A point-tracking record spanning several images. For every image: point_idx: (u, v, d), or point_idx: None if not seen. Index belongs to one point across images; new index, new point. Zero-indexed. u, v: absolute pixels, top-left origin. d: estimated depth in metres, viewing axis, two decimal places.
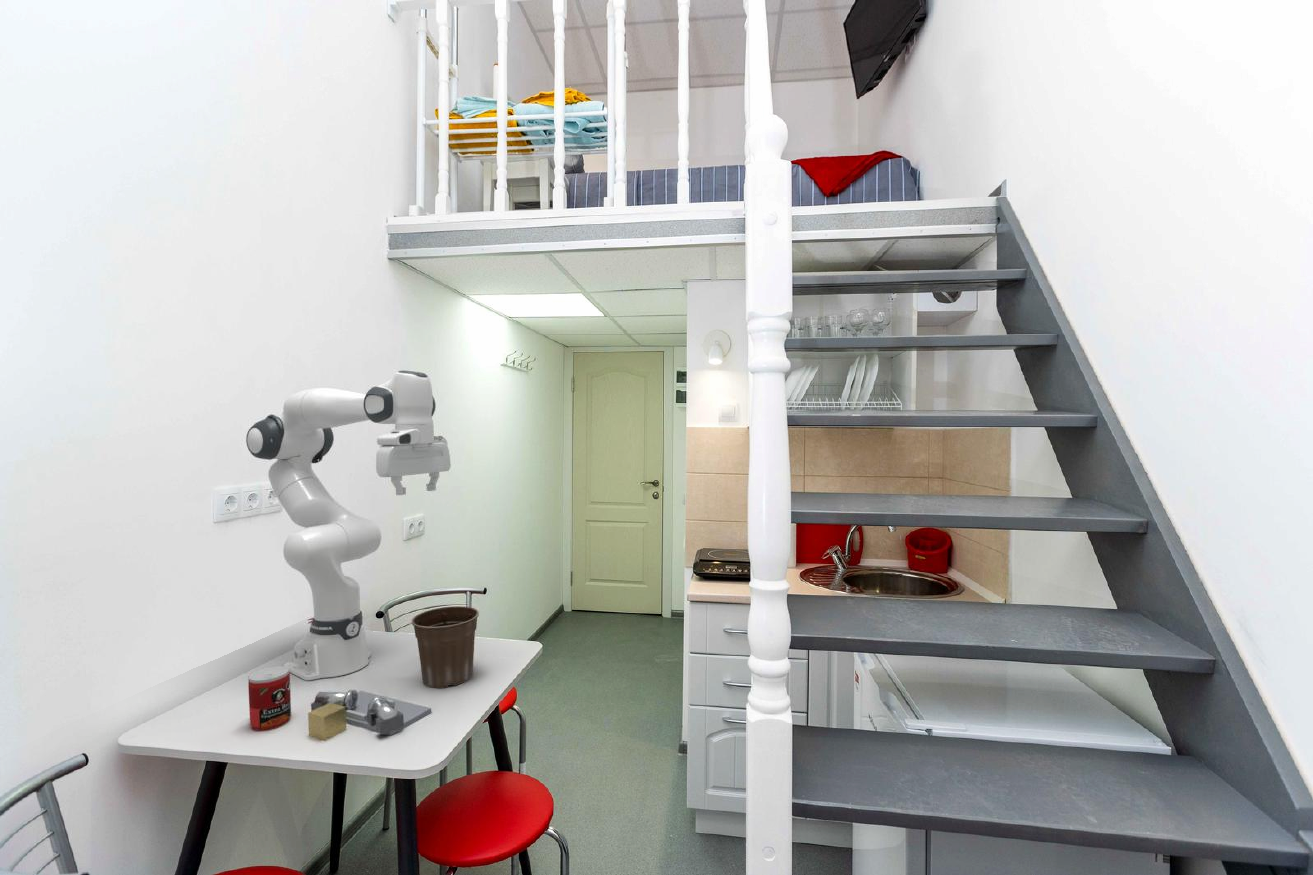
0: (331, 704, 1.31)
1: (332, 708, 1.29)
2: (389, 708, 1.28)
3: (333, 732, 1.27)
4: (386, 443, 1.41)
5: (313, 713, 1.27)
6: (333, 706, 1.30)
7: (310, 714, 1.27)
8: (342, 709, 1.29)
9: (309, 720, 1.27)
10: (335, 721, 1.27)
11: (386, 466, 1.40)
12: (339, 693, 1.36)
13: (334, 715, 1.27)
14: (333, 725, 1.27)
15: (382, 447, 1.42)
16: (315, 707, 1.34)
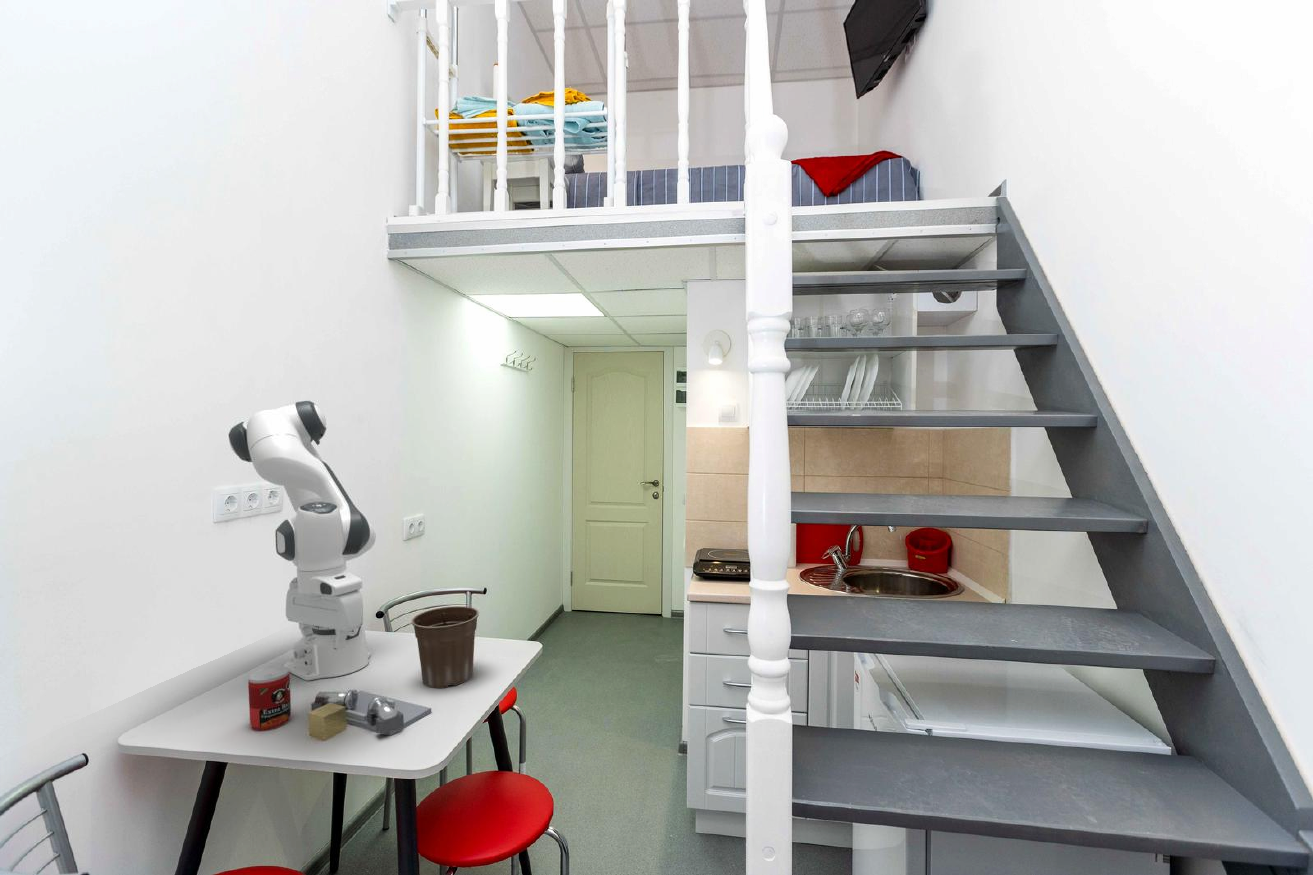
0: (331, 704, 1.31)
1: (332, 708, 1.29)
2: (389, 708, 1.28)
3: (333, 732, 1.27)
4: (351, 590, 1.24)
5: (313, 713, 1.27)
6: (333, 706, 1.30)
7: (310, 714, 1.27)
8: (342, 709, 1.29)
9: (309, 720, 1.27)
10: (335, 721, 1.27)
11: (362, 614, 1.25)
12: (339, 693, 1.36)
13: (334, 715, 1.27)
14: (333, 725, 1.27)
15: (345, 596, 1.23)
16: (315, 707, 1.34)
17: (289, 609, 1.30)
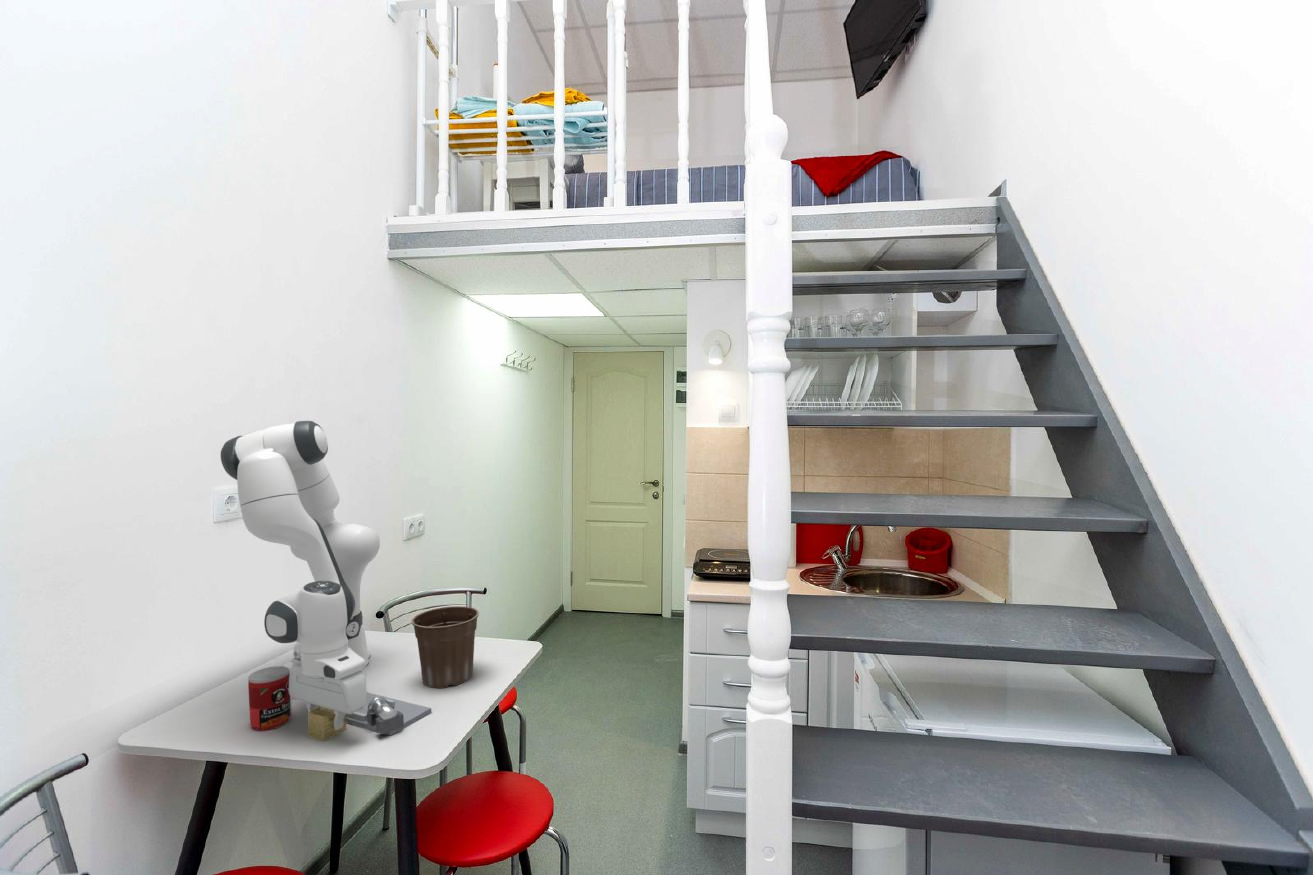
0: None
1: None
2: (389, 708, 1.28)
3: (333, 731, 1.27)
4: (354, 672, 1.25)
5: (313, 712, 1.27)
6: None
7: (310, 713, 1.27)
8: None
9: (309, 719, 1.27)
10: None
11: (365, 695, 1.25)
12: None
13: (334, 714, 1.27)
14: None
15: (349, 679, 1.23)
16: None
17: (292, 687, 1.30)
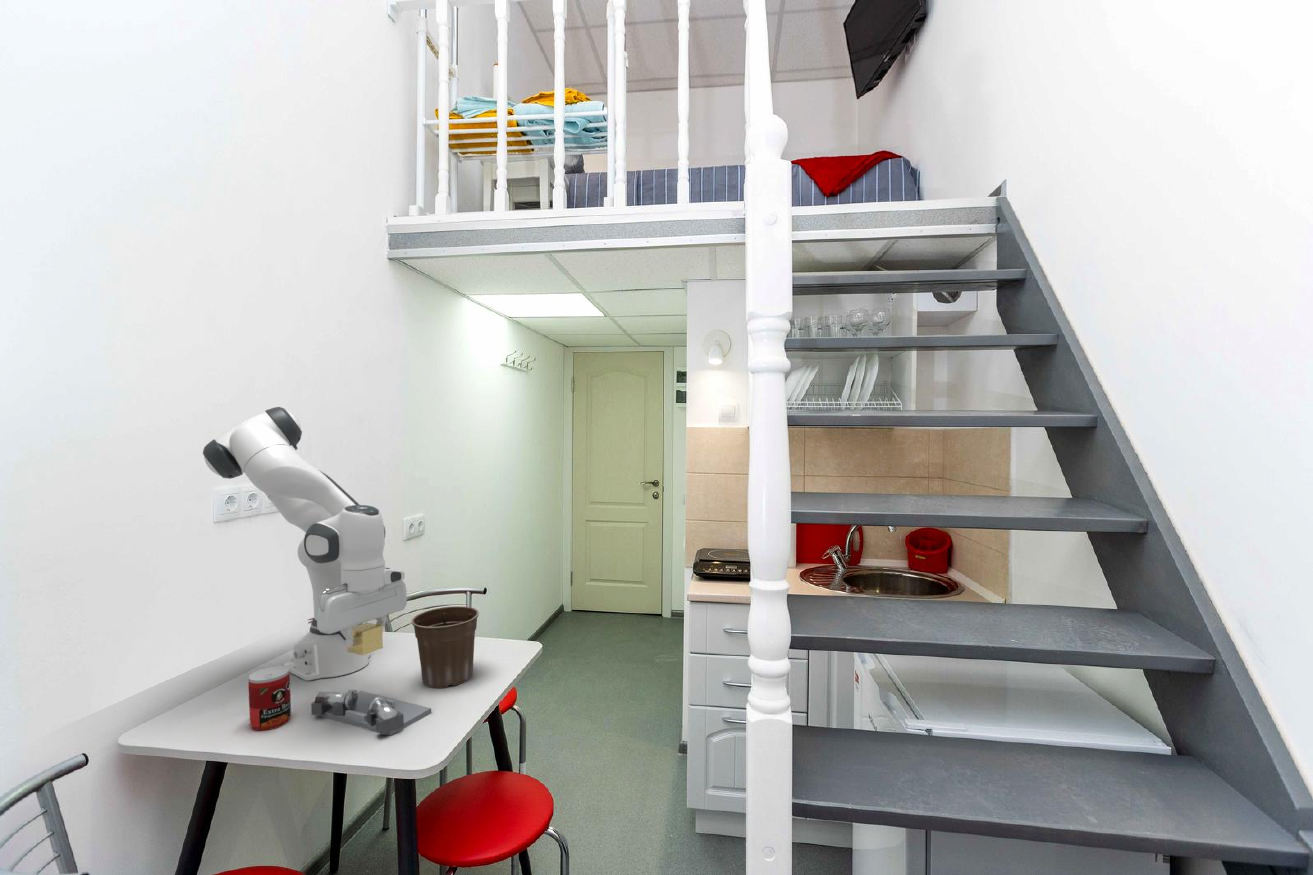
0: (353, 627, 1.35)
1: (363, 626, 1.36)
2: (389, 708, 1.28)
3: None
4: None
5: (366, 630, 1.33)
6: (358, 626, 1.35)
7: (365, 632, 1.32)
8: None
9: (364, 638, 1.32)
10: None
11: None
12: (339, 693, 1.36)
13: None
14: None
15: None
16: (315, 707, 1.34)
17: (333, 620, 1.26)
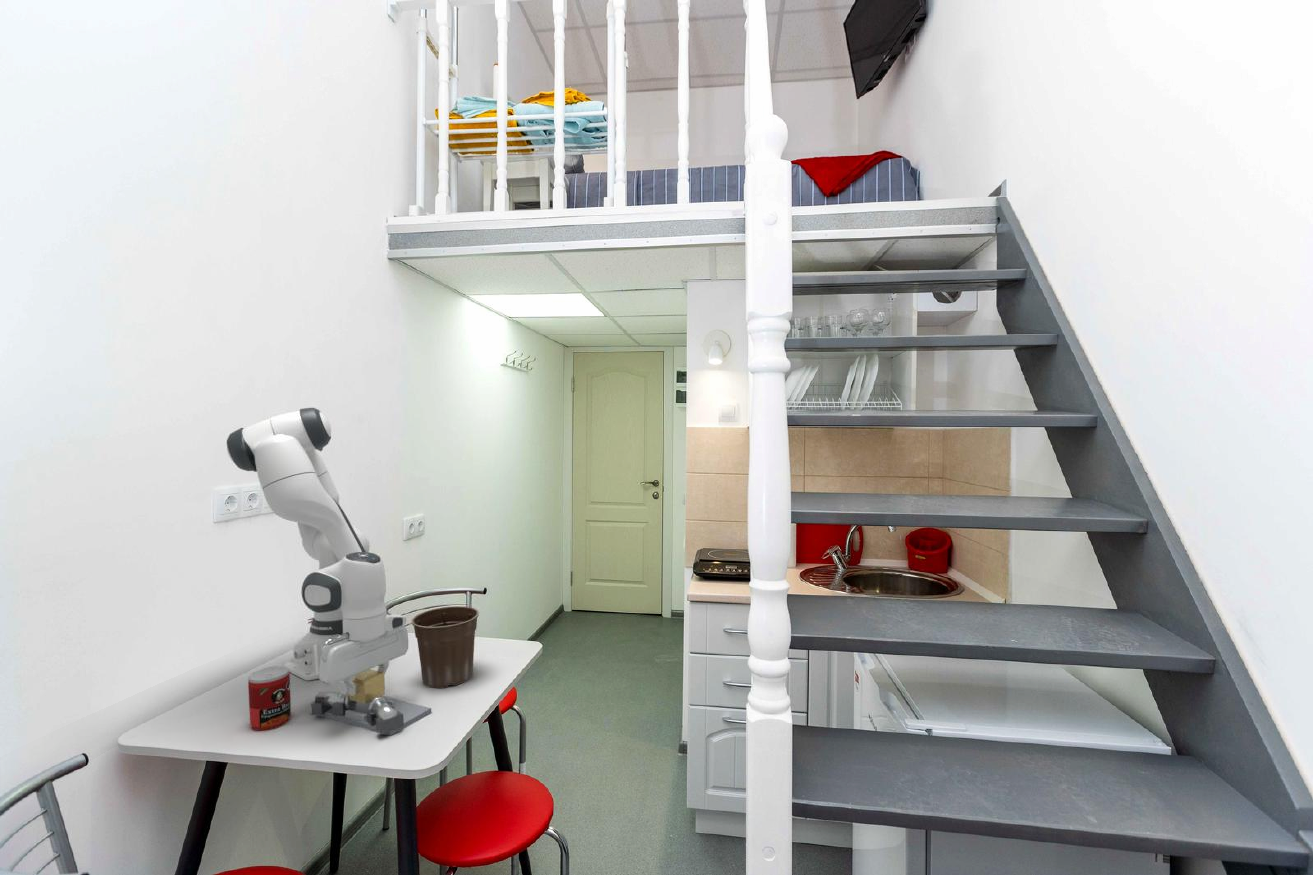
0: (355, 675, 1.35)
1: (365, 673, 1.36)
2: (389, 708, 1.28)
3: None
4: None
5: (369, 678, 1.33)
6: (360, 673, 1.36)
7: (367, 680, 1.32)
8: None
9: (366, 687, 1.32)
10: None
11: None
12: (339, 693, 1.36)
13: None
14: None
15: None
16: (315, 707, 1.34)
17: (336, 670, 1.27)
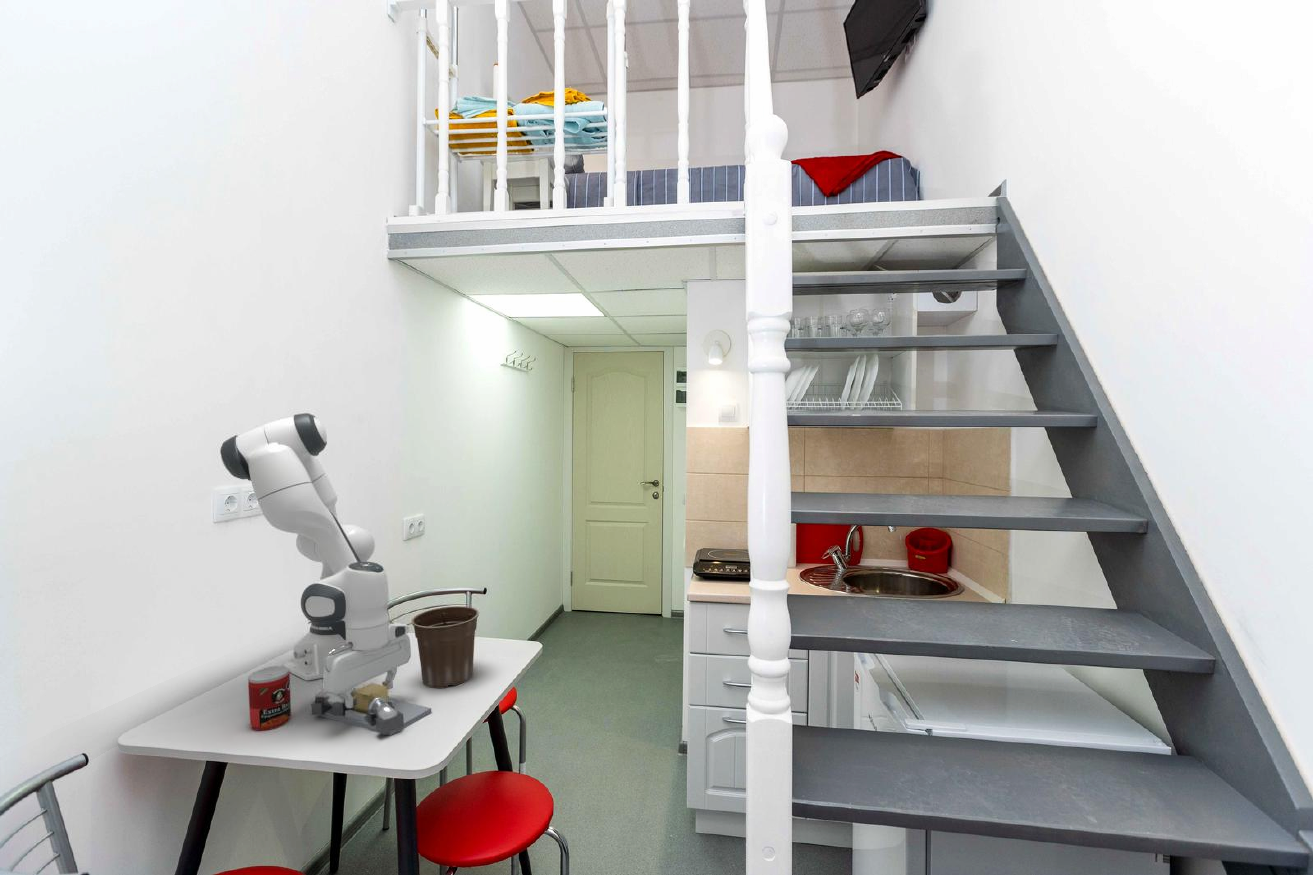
0: (358, 690, 1.35)
1: (368, 687, 1.36)
2: (389, 708, 1.28)
3: None
4: None
5: (372, 692, 1.33)
6: (364, 688, 1.36)
7: (371, 695, 1.33)
8: None
9: (370, 701, 1.33)
10: None
11: None
12: (339, 693, 1.36)
13: None
14: None
15: None
16: (315, 707, 1.34)
17: (340, 680, 1.27)
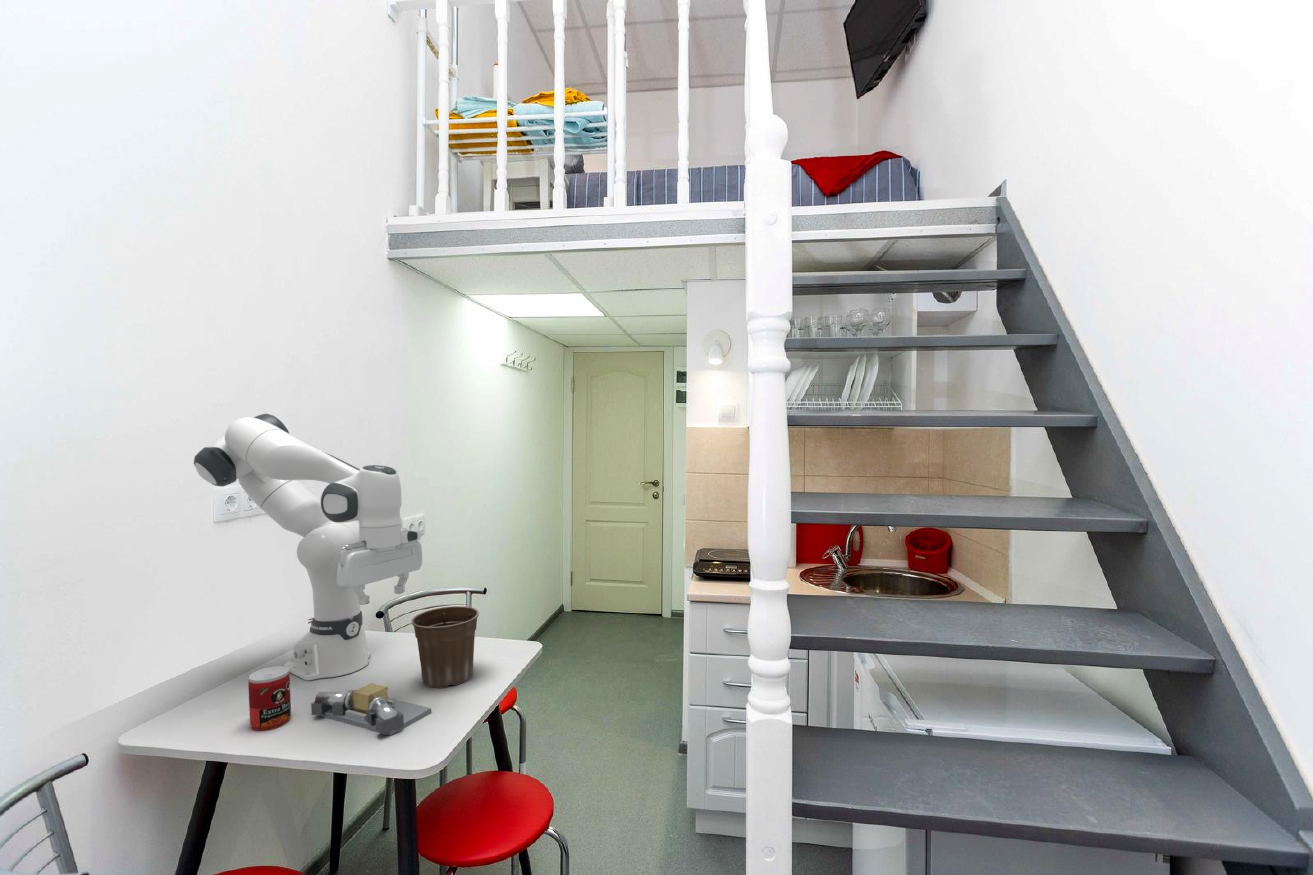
0: (358, 690, 1.35)
1: (368, 687, 1.36)
2: (389, 708, 1.28)
3: None
4: None
5: (372, 692, 1.33)
6: (364, 688, 1.36)
7: (371, 695, 1.33)
8: None
9: (370, 701, 1.33)
10: None
11: None
12: (339, 693, 1.36)
13: None
14: None
15: None
16: (315, 707, 1.34)
17: (353, 575, 1.29)
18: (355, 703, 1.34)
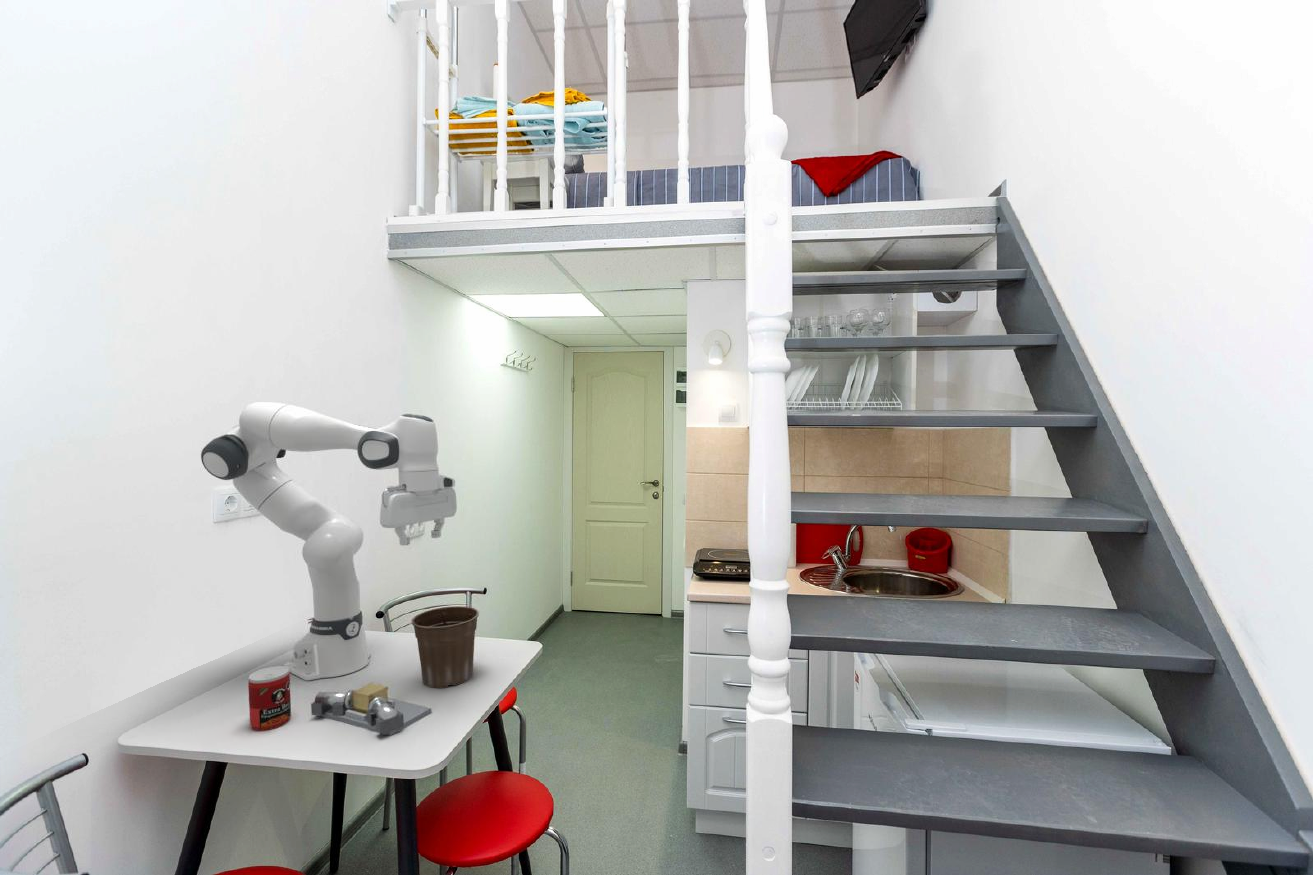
0: (358, 690, 1.35)
1: (368, 687, 1.36)
2: (389, 708, 1.28)
3: None
4: None
5: (372, 692, 1.33)
6: (364, 688, 1.36)
7: (371, 695, 1.33)
8: None
9: (370, 701, 1.33)
10: None
11: None
12: (339, 693, 1.36)
13: None
14: None
15: None
16: (315, 707, 1.34)
17: (396, 515, 1.35)
18: (355, 703, 1.34)
